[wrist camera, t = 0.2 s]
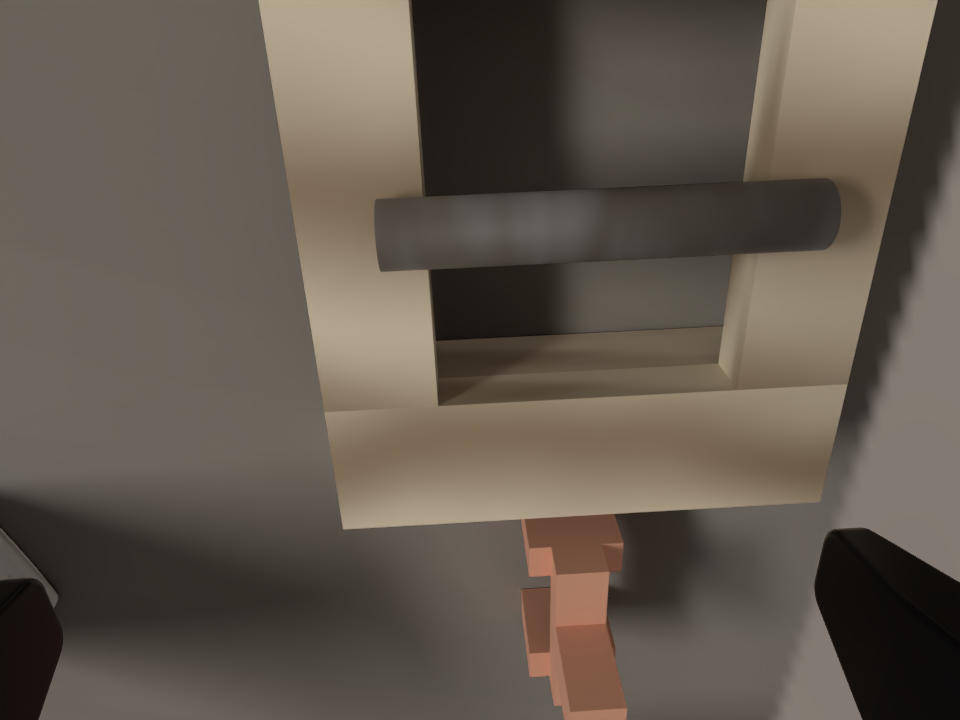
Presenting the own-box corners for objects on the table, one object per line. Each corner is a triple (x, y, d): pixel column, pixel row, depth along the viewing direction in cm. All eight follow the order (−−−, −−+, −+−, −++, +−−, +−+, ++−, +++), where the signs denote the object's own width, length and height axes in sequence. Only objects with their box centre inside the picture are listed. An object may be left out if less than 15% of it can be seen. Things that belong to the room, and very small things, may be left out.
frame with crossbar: (767, 428, 25) (847, 539, 20) (357, 451, 24) (336, 569, 20) (888, -241, 16) (1077, -333, 11) (263, -220, 16) (185, -306, 11)
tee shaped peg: (597, 606, 28) (642, 788, 22) (521, 611, 28) (544, 795, 22) (605, 484, 26) (658, 652, 19) (520, 489, 25) (546, 659, 19)
